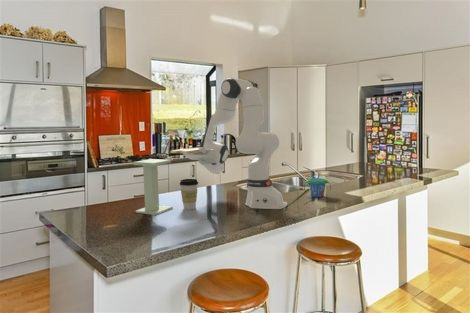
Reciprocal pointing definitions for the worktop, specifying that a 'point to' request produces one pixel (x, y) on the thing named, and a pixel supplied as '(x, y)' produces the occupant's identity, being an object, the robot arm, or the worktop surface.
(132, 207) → the worktop surface
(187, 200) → the coffee cup
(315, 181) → the snack cup
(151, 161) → the tall stand
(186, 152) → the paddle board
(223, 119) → the robot arm
